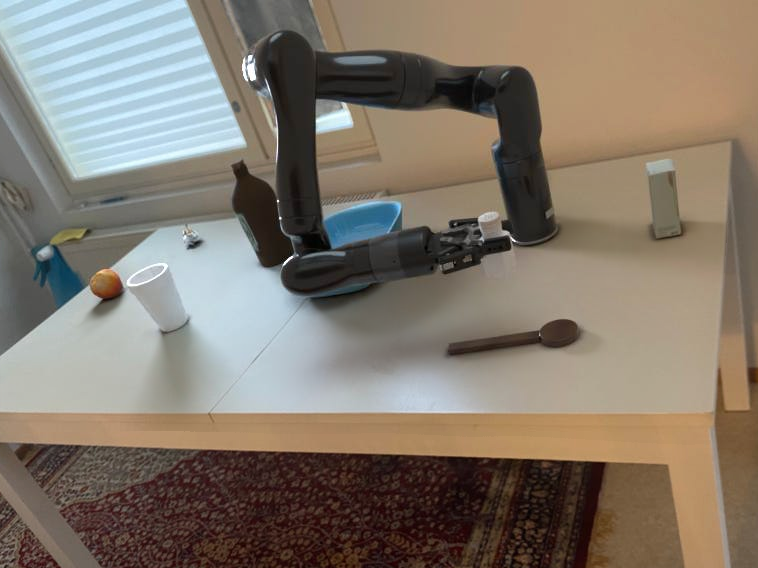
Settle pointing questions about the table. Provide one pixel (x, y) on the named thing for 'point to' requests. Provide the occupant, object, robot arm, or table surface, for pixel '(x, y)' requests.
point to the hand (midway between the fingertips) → (511, 234)
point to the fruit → (106, 284)
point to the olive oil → (259, 216)
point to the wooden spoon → (523, 338)
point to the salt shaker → (498, 262)
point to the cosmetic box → (663, 198)
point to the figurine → (189, 236)
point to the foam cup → (159, 296)
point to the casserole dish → (362, 228)
